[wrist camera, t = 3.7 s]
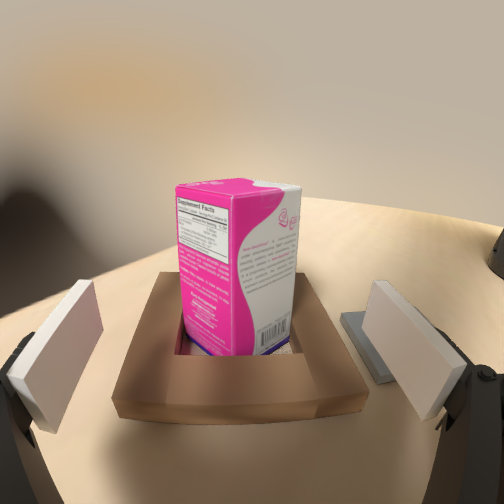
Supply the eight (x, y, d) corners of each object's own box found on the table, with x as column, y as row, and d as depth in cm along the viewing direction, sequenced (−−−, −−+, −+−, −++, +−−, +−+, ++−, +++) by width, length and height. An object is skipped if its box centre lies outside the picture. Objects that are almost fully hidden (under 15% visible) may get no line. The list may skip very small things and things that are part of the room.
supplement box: (237, 310, 26) (242, 175, 22) (290, 341, 22) (308, 187, 18) (181, 335, 22) (173, 181, 18) (232, 377, 18) (237, 194, 14)
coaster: (412, 314, 25) (415, 306, 25) (458, 364, 18) (462, 356, 18) (339, 320, 25) (341, 312, 24) (377, 384, 17) (380, 375, 17)
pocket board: (301, 288, 30) (303, 272, 29) (360, 410, 15) (369, 391, 14) (161, 288, 28) (159, 271, 28) (119, 417, 14) (111, 397, 13)
